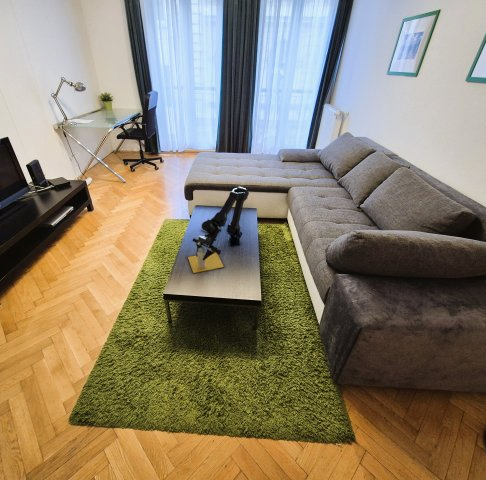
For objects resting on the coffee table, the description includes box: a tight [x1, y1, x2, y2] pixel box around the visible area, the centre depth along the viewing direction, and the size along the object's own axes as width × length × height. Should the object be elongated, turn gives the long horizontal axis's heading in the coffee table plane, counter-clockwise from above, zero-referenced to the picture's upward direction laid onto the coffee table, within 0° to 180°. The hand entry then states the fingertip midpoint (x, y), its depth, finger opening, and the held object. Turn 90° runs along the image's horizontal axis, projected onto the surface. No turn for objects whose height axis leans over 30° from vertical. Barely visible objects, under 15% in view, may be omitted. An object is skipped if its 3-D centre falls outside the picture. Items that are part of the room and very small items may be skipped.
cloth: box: [187, 252, 225, 274], centre depth 164 cm, size 19×16×1 cm
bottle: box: [196, 248, 207, 269], centre depth 157 cm, size 5×5×12 cm
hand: (199, 258), depth 156 cm, fingers closed on bottle, 5 cm apart
